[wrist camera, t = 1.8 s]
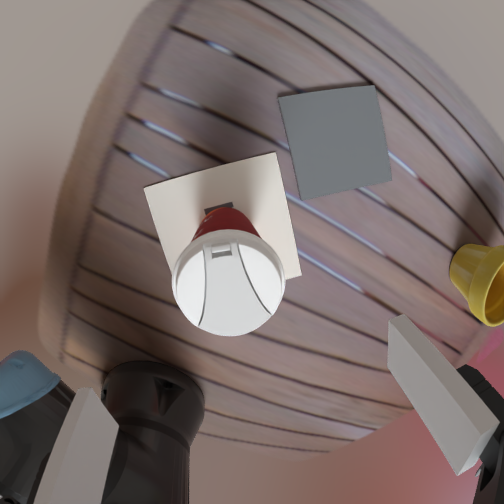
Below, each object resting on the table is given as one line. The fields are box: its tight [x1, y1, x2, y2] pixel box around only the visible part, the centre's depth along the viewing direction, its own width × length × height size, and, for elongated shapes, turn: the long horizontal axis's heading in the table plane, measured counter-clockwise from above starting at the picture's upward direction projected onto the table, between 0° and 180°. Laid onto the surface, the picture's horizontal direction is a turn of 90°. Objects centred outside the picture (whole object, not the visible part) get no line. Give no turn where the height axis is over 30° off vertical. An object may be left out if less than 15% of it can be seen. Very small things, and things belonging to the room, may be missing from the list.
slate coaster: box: [277, 85, 392, 201], centre depth 30 cm, size 11×11×1 cm
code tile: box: [144, 152, 302, 280], centre depth 33 cm, size 14×14×1 cm
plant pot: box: [449, 244, 504, 326], centre depth 33 cm, size 10×10×10 cm
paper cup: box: [172, 207, 285, 336], centre depth 26 cm, size 8×8×14 cm
